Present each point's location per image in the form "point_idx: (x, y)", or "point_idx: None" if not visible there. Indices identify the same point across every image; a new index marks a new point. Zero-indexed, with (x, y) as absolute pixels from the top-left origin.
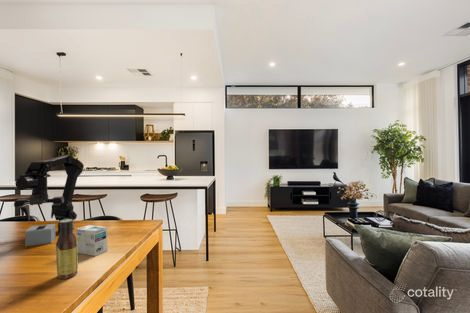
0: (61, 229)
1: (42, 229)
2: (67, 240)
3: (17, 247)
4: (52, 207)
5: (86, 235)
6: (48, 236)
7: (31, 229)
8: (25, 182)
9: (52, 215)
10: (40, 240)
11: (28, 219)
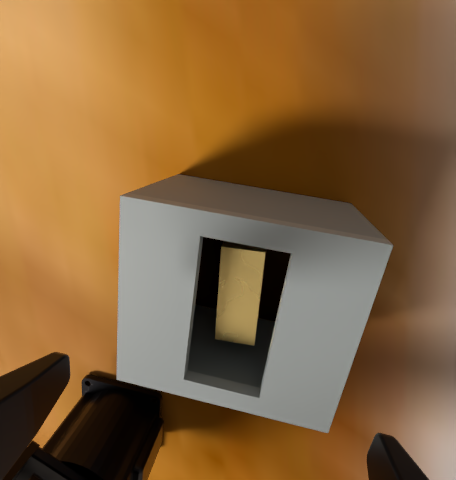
0: None
1: (205, 215)
2: None
3: (404, 211)
4: None
5: None
6: (177, 186)
7: (322, 291)
8: None
9: (10, 377)
10: (244, 190)
11: (389, 445)
